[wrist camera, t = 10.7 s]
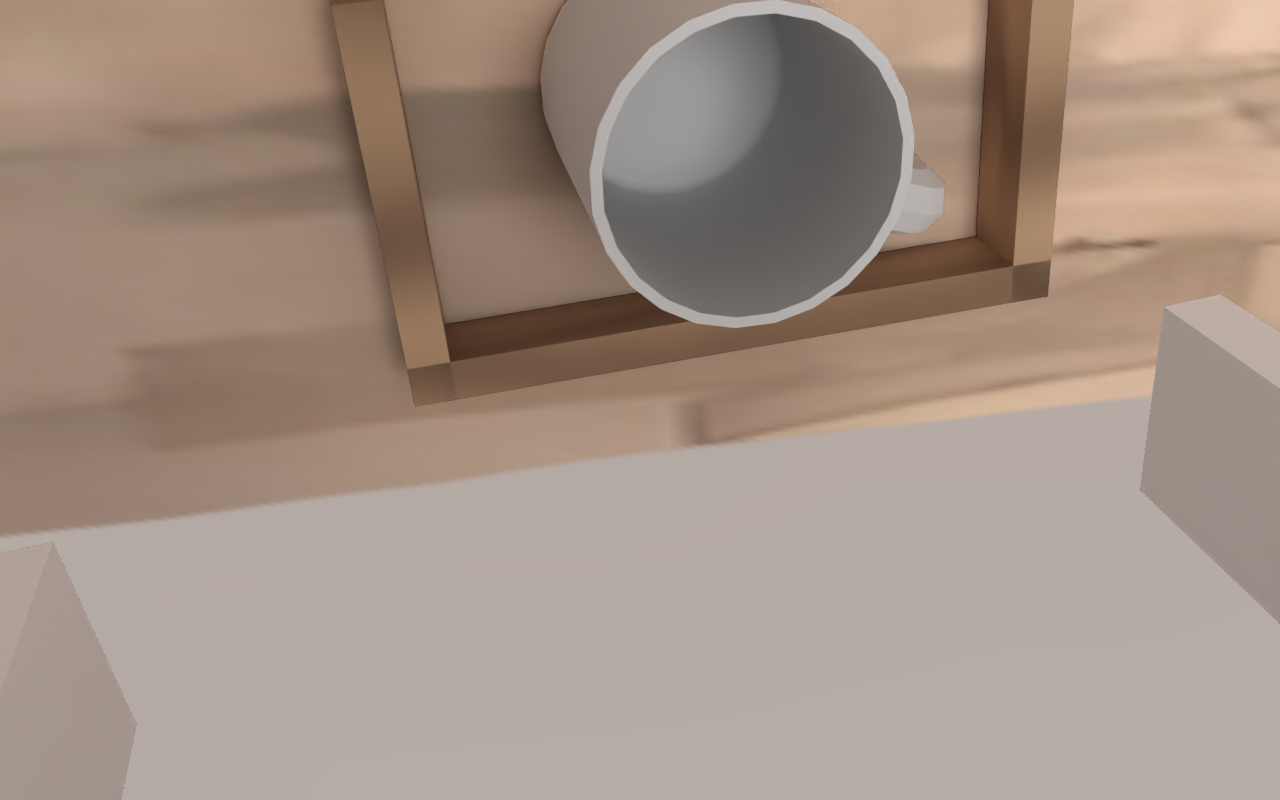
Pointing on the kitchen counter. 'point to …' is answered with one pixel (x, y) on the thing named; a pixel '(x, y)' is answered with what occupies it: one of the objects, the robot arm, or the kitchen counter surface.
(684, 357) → the bay
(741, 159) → the cup
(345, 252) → the kitchen counter surface
